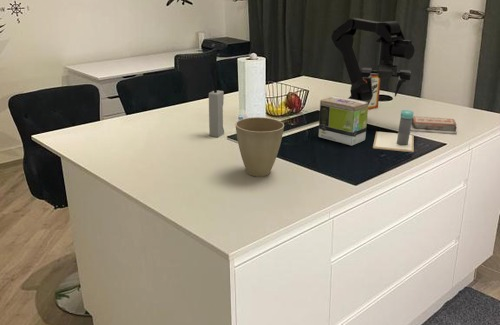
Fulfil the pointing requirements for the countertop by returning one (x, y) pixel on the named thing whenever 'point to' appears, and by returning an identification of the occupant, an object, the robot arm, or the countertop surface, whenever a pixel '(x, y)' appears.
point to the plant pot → (259, 143)
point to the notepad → (392, 142)
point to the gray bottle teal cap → (404, 127)
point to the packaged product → (433, 125)
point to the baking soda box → (374, 92)
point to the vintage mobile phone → (216, 111)
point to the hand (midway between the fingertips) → (383, 95)
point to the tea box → (343, 120)
